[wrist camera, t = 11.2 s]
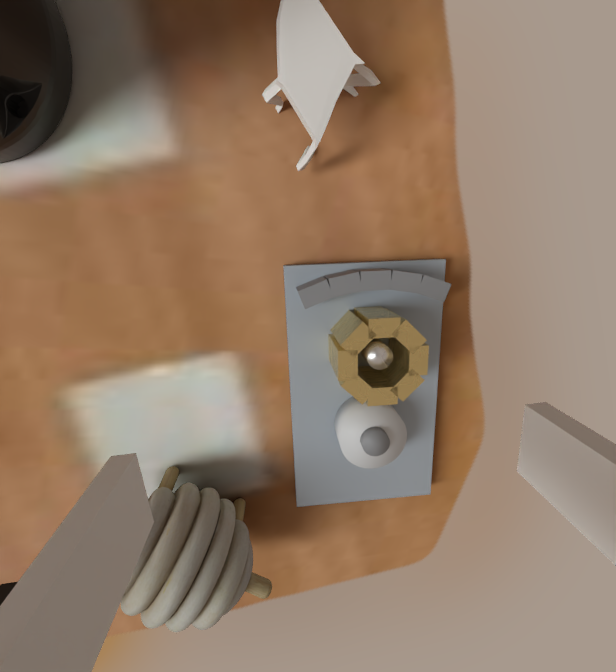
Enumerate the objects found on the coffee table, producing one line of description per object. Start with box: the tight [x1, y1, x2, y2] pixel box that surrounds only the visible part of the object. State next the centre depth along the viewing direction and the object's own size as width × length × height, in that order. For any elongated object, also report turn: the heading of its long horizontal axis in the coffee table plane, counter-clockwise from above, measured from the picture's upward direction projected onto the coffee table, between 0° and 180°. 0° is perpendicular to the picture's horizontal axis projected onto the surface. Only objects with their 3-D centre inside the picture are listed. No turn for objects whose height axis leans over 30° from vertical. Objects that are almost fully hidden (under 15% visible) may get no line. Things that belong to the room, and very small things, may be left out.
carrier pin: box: [360, 338, 393, 370], centre depth 28 cm, size 2×2×4 cm
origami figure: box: [262, 0, 381, 171], centre depth 24 cm, size 12×8×5 cm
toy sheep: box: [121, 466, 272, 632], centre depth 30 cm, size 11×17×11 cm, turn 61°
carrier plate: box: [284, 259, 451, 507], centre depth 30 cm, size 24×14×5 cm, turn 2°
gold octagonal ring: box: [328, 306, 429, 406], centre depth 28 cm, size 7×7×5 cm
